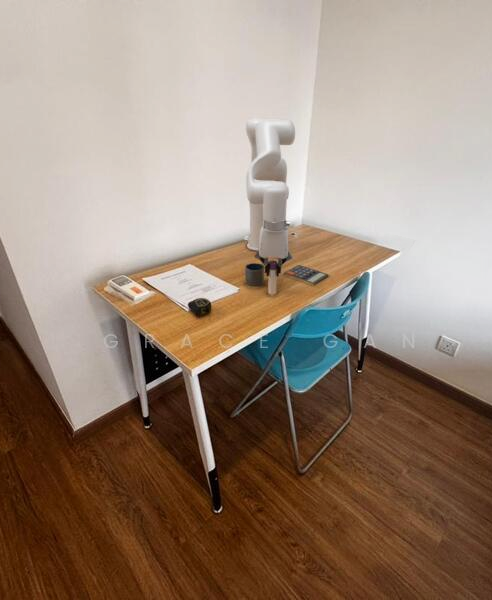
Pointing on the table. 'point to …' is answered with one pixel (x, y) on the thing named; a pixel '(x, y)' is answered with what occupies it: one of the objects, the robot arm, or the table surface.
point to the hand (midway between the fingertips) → (272, 274)
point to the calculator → (306, 274)
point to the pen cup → (254, 274)
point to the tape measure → (200, 306)
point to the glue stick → (272, 277)
